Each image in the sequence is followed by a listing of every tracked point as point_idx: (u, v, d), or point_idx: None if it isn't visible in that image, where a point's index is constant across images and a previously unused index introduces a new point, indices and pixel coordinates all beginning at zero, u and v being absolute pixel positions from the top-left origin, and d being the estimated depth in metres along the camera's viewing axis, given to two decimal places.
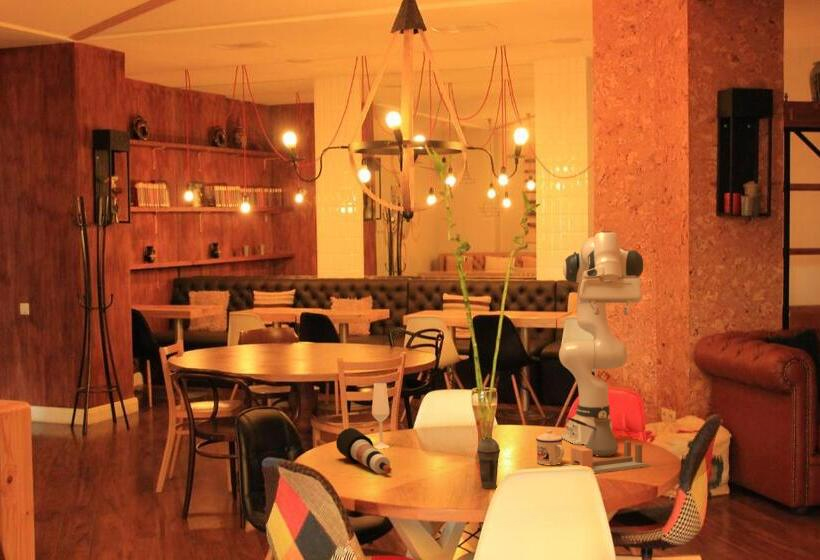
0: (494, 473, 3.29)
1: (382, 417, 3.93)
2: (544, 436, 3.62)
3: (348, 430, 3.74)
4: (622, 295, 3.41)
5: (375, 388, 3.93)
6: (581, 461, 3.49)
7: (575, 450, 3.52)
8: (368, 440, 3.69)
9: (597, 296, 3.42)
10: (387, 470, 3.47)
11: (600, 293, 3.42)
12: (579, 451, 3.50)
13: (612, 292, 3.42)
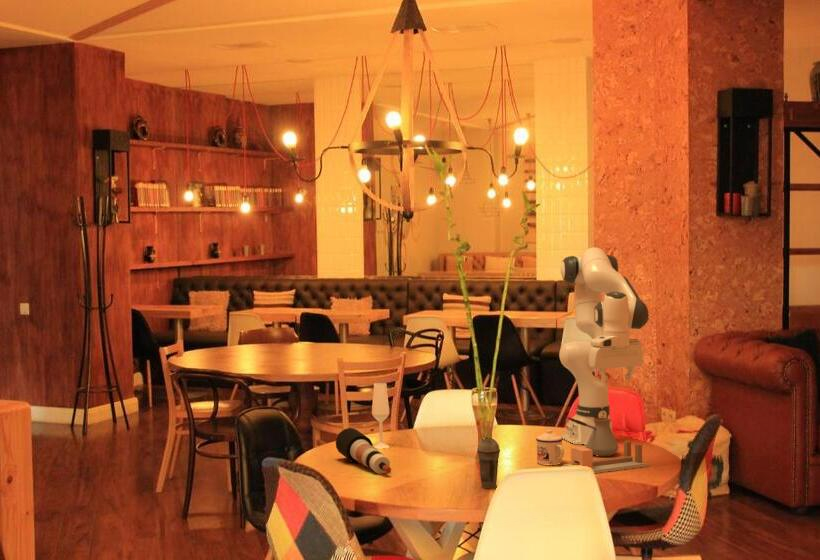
0: (494, 473, 3.29)
1: (382, 417, 3.93)
2: (544, 436, 3.62)
3: (347, 430, 3.74)
4: (628, 363, 3.56)
5: (375, 388, 3.93)
6: (581, 461, 3.49)
7: (575, 450, 3.52)
8: (367, 440, 3.69)
9: (609, 365, 3.53)
10: (387, 470, 3.47)
11: (610, 362, 3.53)
12: (579, 451, 3.50)
13: (621, 360, 3.55)
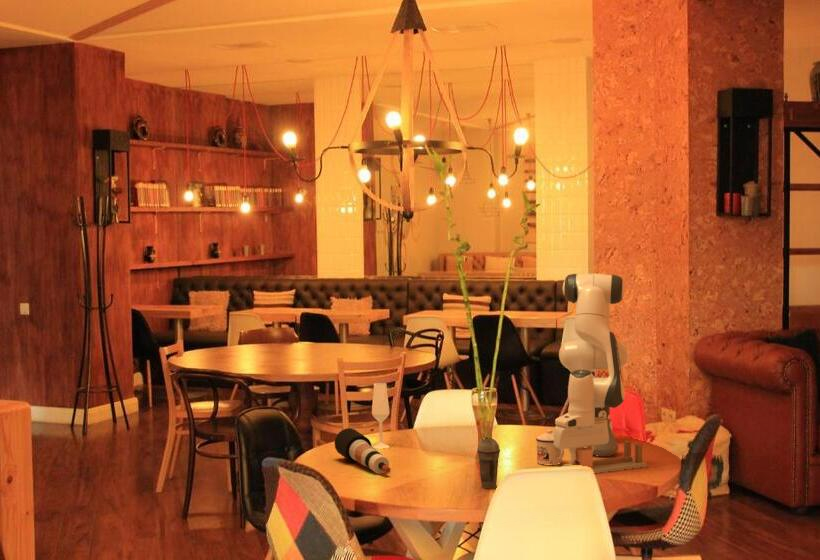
0: (494, 473, 3.29)
1: (382, 417, 3.93)
2: (544, 436, 3.62)
3: (346, 430, 3.74)
4: (593, 442, 3.52)
5: (375, 388, 3.93)
6: (581, 461, 3.49)
7: None
8: (366, 440, 3.69)
9: (573, 445, 3.49)
10: (386, 470, 3.47)
11: (575, 441, 3.49)
12: (579, 451, 3.50)
13: (586, 440, 3.51)
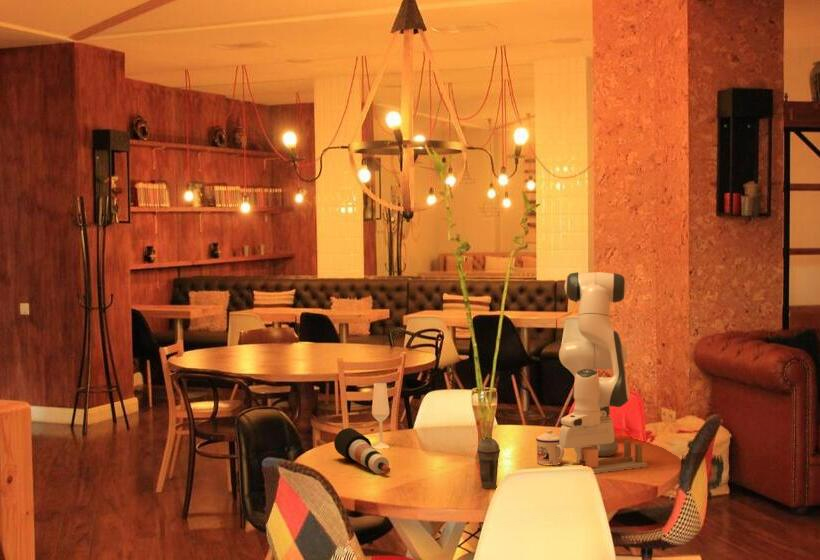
0: (494, 473, 3.29)
1: (382, 417, 3.93)
2: (544, 436, 3.62)
3: (346, 430, 3.74)
4: (599, 441, 3.53)
5: (375, 388, 3.93)
6: (587, 460, 3.50)
7: (581, 449, 3.53)
8: (366, 440, 3.69)
9: (579, 444, 3.50)
10: (386, 470, 3.47)
11: (581, 441, 3.50)
12: (585, 450, 3.51)
13: (592, 439, 3.52)
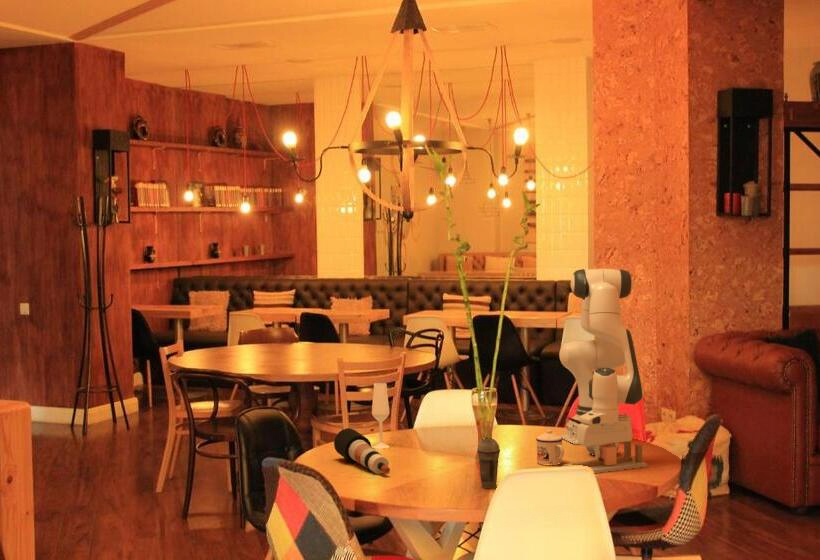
0: (494, 473, 3.29)
1: (382, 417, 3.93)
2: (544, 436, 3.62)
3: (346, 430, 3.74)
4: (617, 439, 3.56)
5: (375, 388, 3.93)
6: (605, 458, 3.53)
7: None
8: (366, 440, 3.69)
9: (597, 442, 3.53)
10: (385, 470, 3.47)
11: (599, 439, 3.53)
12: (603, 448, 3.54)
13: (610, 437, 3.55)
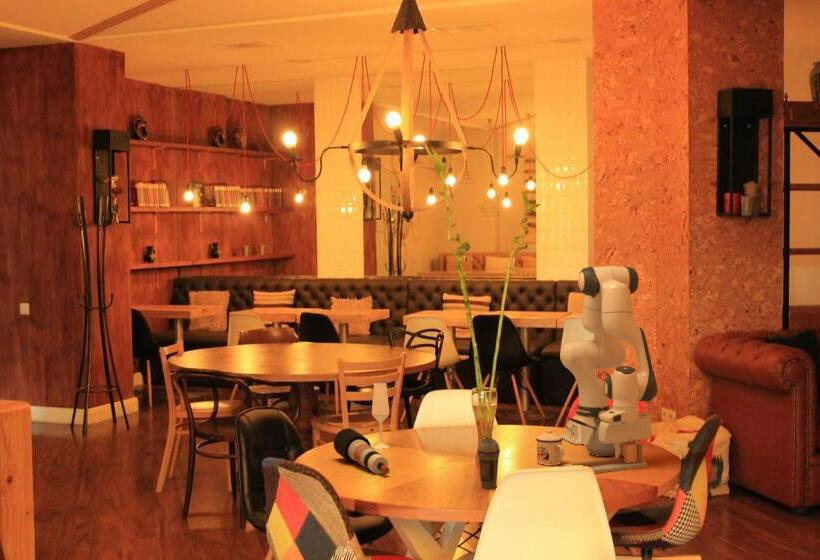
0: (494, 473, 3.29)
1: (382, 417, 3.93)
2: (544, 436, 3.62)
3: (345, 430, 3.74)
4: (637, 437, 3.60)
5: (375, 388, 3.93)
6: (626, 455, 3.57)
7: (619, 445, 3.60)
8: (365, 440, 3.69)
9: (618, 440, 3.56)
10: (385, 470, 3.47)
11: (620, 436, 3.57)
12: (624, 446, 3.57)
13: (630, 435, 3.58)
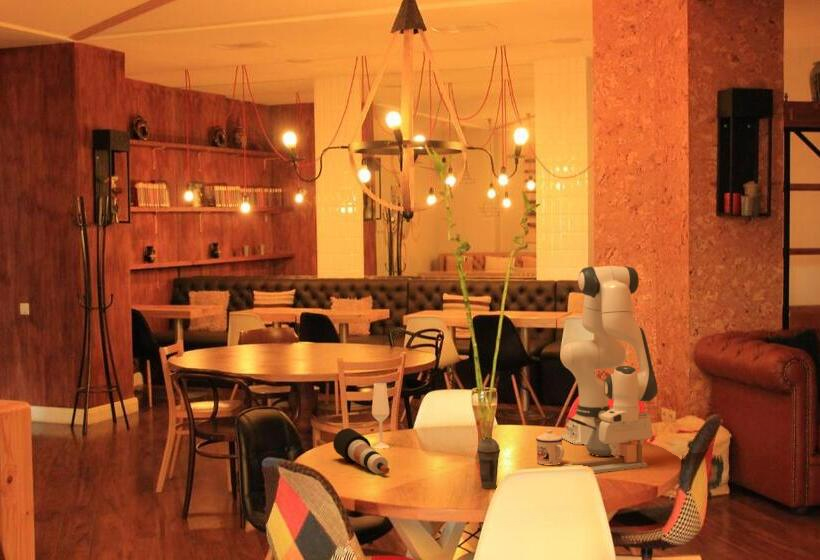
0: (494, 473, 3.29)
1: (382, 417, 3.93)
2: (544, 436, 3.62)
3: (345, 430, 3.74)
4: (637, 437, 3.60)
5: (375, 388, 3.93)
6: (626, 455, 3.57)
7: (619, 445, 3.60)
8: (365, 440, 3.69)
9: (618, 440, 3.56)
10: (385, 470, 3.47)
11: (620, 436, 3.57)
12: (624, 446, 3.57)
13: (630, 435, 3.58)
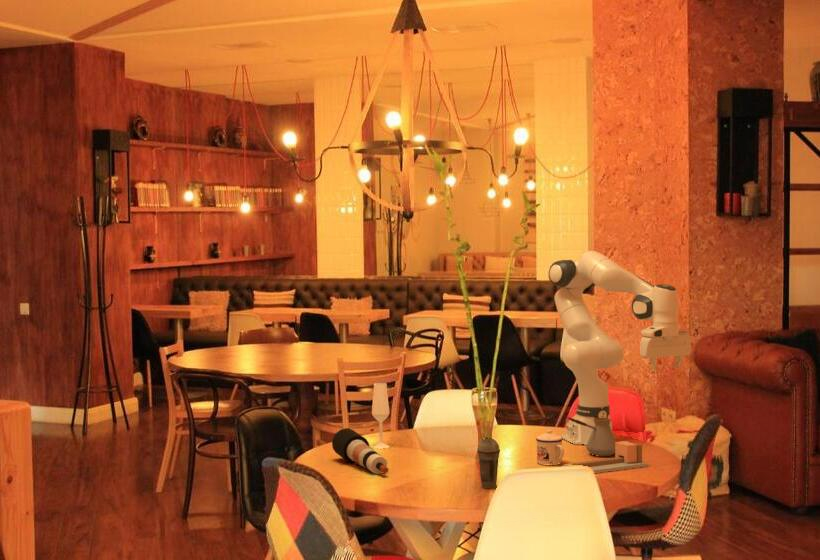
0: (494, 473, 3.29)
1: (382, 417, 3.93)
2: (544, 436, 3.62)
3: (344, 430, 3.74)
4: (677, 353, 3.70)
5: (375, 388, 3.93)
6: (626, 455, 3.57)
7: (619, 445, 3.60)
8: (364, 440, 3.69)
9: (659, 355, 3.67)
10: (384, 470, 3.46)
11: (661, 351, 3.67)
12: (624, 446, 3.57)
13: (670, 350, 3.69)
